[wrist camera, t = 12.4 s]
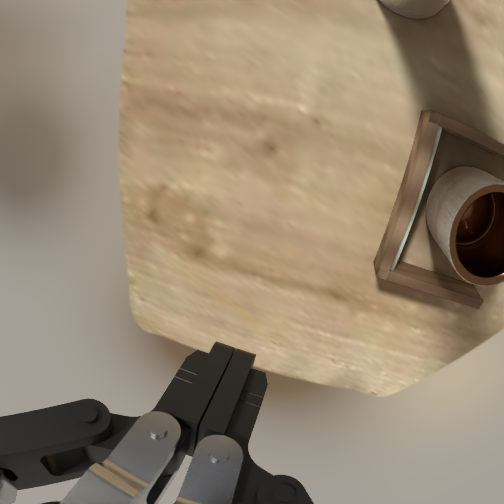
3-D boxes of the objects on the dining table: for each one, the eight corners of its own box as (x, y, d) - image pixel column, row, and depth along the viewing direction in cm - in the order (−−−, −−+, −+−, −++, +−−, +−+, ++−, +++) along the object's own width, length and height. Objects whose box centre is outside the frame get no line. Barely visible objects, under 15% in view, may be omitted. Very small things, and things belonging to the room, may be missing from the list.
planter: (491, 156, 29) (530, 171, 21) (502, 238, 32) (536, 271, 24) (415, 177, 33) (438, 197, 25) (432, 259, 36) (452, 299, 28)
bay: (421, 110, 30) (431, 110, 26) (522, 159, 28) (538, 165, 24) (373, 262, 38) (376, 277, 35) (469, 293, 36) (478, 308, 33)
